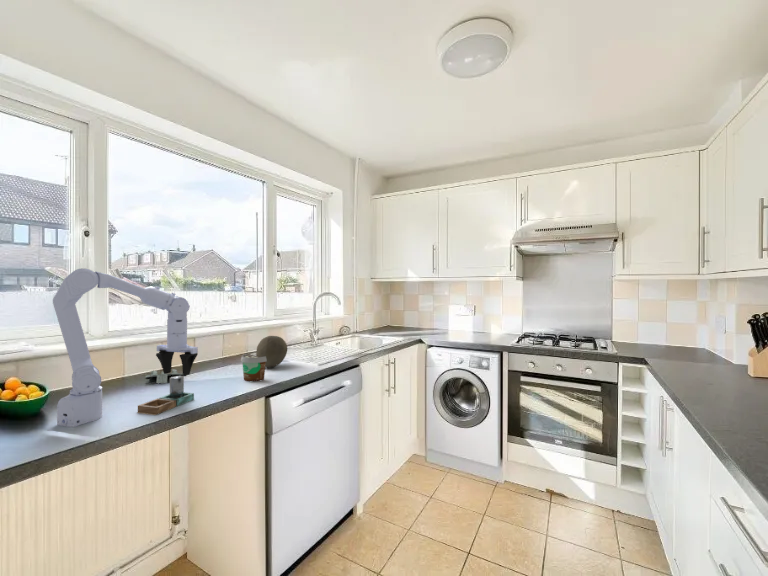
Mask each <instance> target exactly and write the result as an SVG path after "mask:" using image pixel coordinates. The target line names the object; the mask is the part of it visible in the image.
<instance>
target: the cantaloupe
mask: <svg viewBox="0 0 768 576" xmlns="http://www.w3.org/2000/svg"><path fill="white" fill-rule="evenodd" d="M255 353H256V354H255V356H257V357H265V356H266V359H267V361H266V363H265V368H267V369H268V368H269V369H272V368H275V367H278V366H279V365H280V364H281V363H282V362H283V361H284V359H285V358H286V357H287V354H288V344H287V343H286V341H285V340H284V338H283V337H281V336H279V335H278V336H277V335H268V336H266V337H263V338H262V339H261V340H260V341H259V342H258V344H257V346H256V352H255Z"/></svg>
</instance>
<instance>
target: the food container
mask: <svg viewBox="0 0 768 576" xmlns="http://www.w3.org/2000/svg"><path fill="white" fill-rule="evenodd" d="M266 361H267V359H266V356H265V357H257V356H256V355H251V356H250V355H248V353H244V354H242V355H241V358H240V362H242V374H243V381H245V382H250V381H253V382H261V381H260V380H262V381H265V374H266V367H265V363H266Z"/></svg>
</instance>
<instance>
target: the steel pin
mask: <svg viewBox="0 0 768 576" xmlns="http://www.w3.org/2000/svg"><path fill="white" fill-rule="evenodd" d="M184 381H185V379H184V376H183V375H174V376H171V377H169V394H170V398H173V399H178V398H181V397H183V396H184V389H185V388H184V387H185V385H184V383H185V382H184Z"/></svg>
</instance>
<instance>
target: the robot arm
mask: <svg viewBox="0 0 768 576" xmlns="http://www.w3.org/2000/svg"><path fill="white" fill-rule="evenodd" d="M96 286H97V287H96ZM94 288H98V289H106V288H107V289H108V288H109V289H113V290H117V291H120V292H123V293H126V294H129V295H132V296H135V297H138V298H140V301H141V303H142V304H145V305H147V306H150V307H154V308H156V309H159V310H162V311H167V320H166V336H167V337H166V344H158V345H156V352H157V353H156V354H155V356H156V358H157V359H158V361H159V363H160V365H161V368H162V372H164V374H170V373H172V362H173V359H174V358H173V357H174V354H175V353H181V354H179V358H180V361H181V366H182V367H181V368H182V369H181V371H182V374H183V375H182V376H183V377H184V376H186V377H187V376H188V375H190V374H191V372H192V371H191V370H192V368H193V365H194V362H195V360H196V358H197V356H198V353H199V351H198V348H199V347H198V346H191V345H189V344H188V317H187V316H188V312H189V310H190V304H189V301H188V300H187V299H186V298H184V297H182V296H178V295H176V293H175V292H171V293H170V292H167V291H165V290H162V289H161V287H160V286H157V285H156V286H153V285H152V286H151V285H150V286H148V287H142V286H140V285H137V284H135V283H133V282H129V281H127V280H125V279H122V278H121V277H117V276H115V275H112V274H109V273H104V272H101V271H93V270H92V269H90V268H86V267H85V268H84V267H83V268H77V269H74V270H73V271H72V272H71V273H69V274H68V275H67V276H66V277H65V278H64V279H63V280H62V283H61V284H60V286H59V288H58V289H57V291H56V293H55V295H54V296H53V299H52V304H53V305H52V306H53V308H54V312H55V315H56V317H57V322H58V324H59V328H60V331H61V334H62V338H63V342H64V345H65V348H66V351H67V354H68V357H69V358H68V359H69V361H70V366H71V369H72V370H71V371H72V374H71V386H72V388H71V389H70V390H69V394H68V395H66V396H63V397H61V398H60V399H59V400H58V402H57V406H56V410H57V411H56V414H57V415H56V425H57V426H62V427H63V426H64V427H69V428H75V427H78V426H81V425H83V424H86V423H90V422H94V421H97V420H100V419H101V418H102V417H103V386H101V383H102V377H101V375H100V371H99V368H97V367H96V366H95V365H94V364H93V361H92V358H91V353H90V351H89V348H88V343H87V340H86V337H85V333H84V330H83V328H82V327H83V326H82V323H81V320H80V316H79V313H78V310H77V305H76V304H77V302H79V300H80V299H81V298H82V297H83V296H84V295H85V294H86V293H88V292H90V291H92V290H93V289H94Z"/></svg>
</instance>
